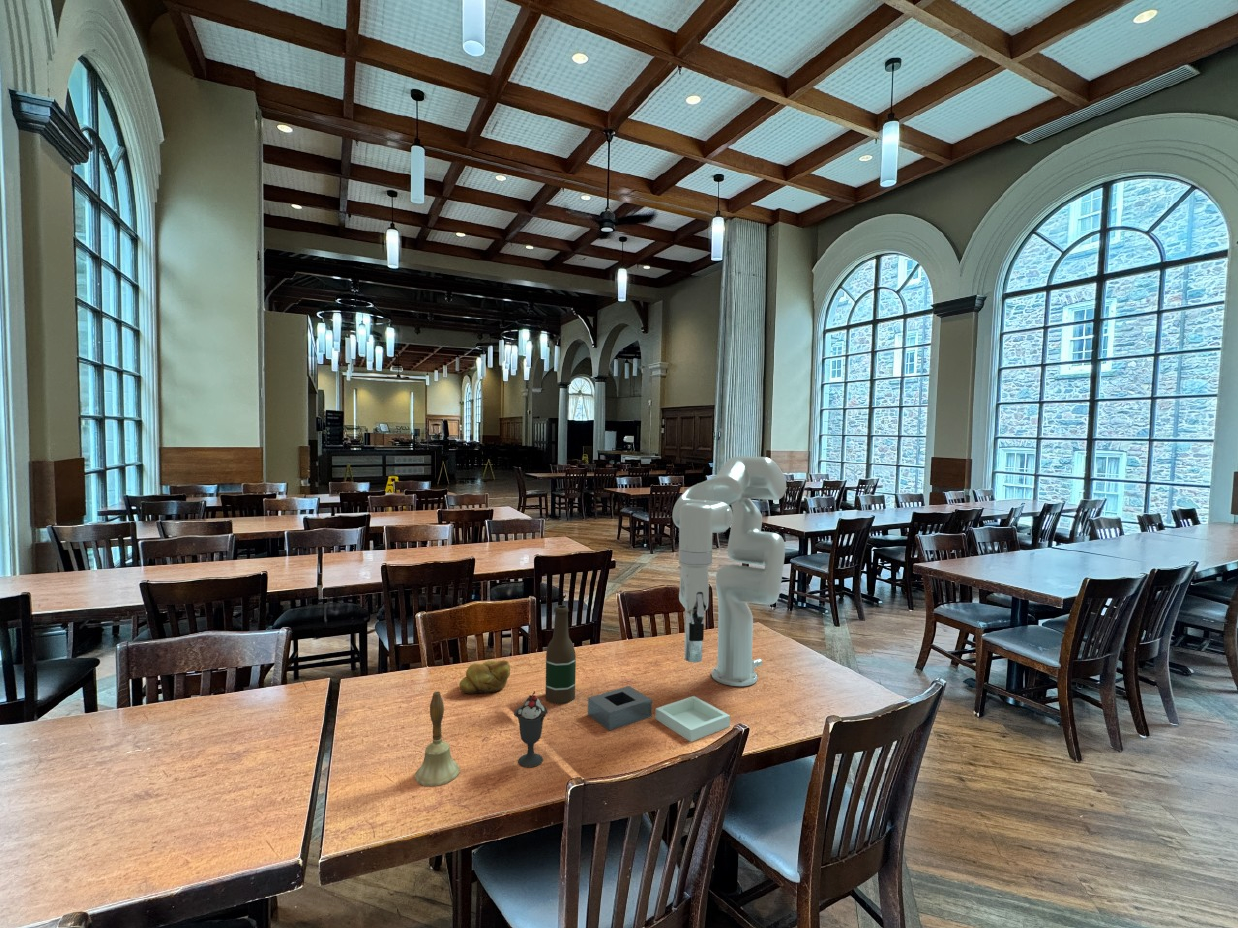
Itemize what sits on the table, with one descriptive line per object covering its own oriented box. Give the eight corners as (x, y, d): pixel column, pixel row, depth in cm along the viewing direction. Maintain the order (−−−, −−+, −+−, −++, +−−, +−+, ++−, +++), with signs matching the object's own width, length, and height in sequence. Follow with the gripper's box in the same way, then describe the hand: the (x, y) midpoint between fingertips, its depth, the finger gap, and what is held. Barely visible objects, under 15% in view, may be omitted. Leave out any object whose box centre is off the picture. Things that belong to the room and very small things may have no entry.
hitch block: (628, 705, 137) (629, 685, 137) (651, 720, 130) (651, 699, 130) (587, 718, 130) (588, 697, 130) (609, 735, 123) (609, 712, 123)
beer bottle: (570, 709, 134) (572, 612, 134) (540, 706, 136) (541, 609, 135) (579, 696, 142) (580, 603, 141) (550, 692, 143) (551, 601, 143)
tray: (693, 709, 135) (693, 695, 135) (729, 730, 126) (730, 715, 126) (655, 723, 128) (655, 708, 128) (690, 746, 119) (691, 730, 119)
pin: (682, 655, 128) (683, 604, 128) (699, 655, 129) (700, 604, 129) (686, 662, 125) (687, 609, 124) (703, 662, 125) (705, 609, 125)
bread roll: (460, 700, 139) (461, 668, 139) (456, 684, 148) (457, 655, 148) (511, 692, 144) (512, 662, 143) (505, 678, 153) (505, 649, 152)
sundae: (532, 773, 108) (533, 697, 107) (507, 763, 111) (507, 689, 111) (553, 758, 113) (554, 685, 113) (529, 748, 117) (529, 678, 116)
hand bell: (422, 791, 101) (422, 706, 101) (409, 770, 108) (410, 689, 108) (465, 776, 106) (466, 695, 106) (451, 757, 113) (451, 680, 113)
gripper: (672, 550, 134) (670, 625, 135) (687, 565, 117) (685, 650, 118) (702, 550, 135) (701, 625, 135) (721, 565, 118) (719, 650, 119)
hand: (693, 636), depth 127 cm, fingers closed on pin, 4 cm apart
